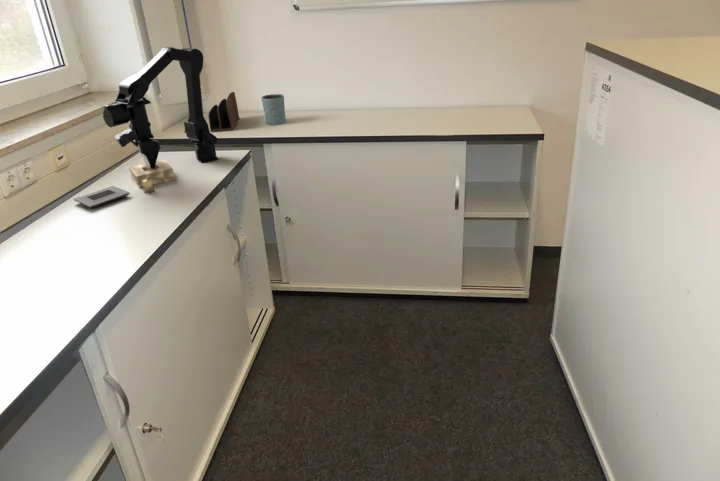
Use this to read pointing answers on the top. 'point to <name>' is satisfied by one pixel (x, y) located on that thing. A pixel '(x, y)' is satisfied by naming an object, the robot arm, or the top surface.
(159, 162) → the hole block
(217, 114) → the letter holder
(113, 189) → the grey rectangular tray
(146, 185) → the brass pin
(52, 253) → the top surface
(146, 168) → the steel pin
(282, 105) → the teal embossed pot
